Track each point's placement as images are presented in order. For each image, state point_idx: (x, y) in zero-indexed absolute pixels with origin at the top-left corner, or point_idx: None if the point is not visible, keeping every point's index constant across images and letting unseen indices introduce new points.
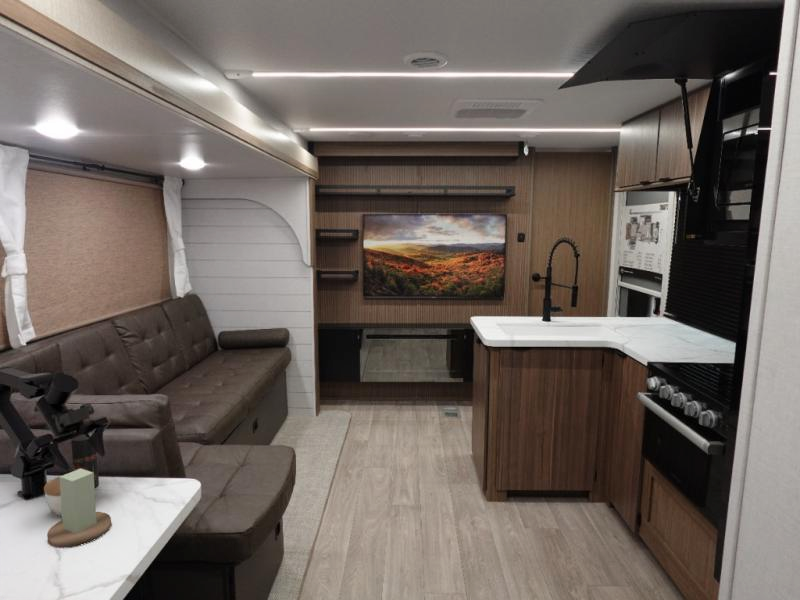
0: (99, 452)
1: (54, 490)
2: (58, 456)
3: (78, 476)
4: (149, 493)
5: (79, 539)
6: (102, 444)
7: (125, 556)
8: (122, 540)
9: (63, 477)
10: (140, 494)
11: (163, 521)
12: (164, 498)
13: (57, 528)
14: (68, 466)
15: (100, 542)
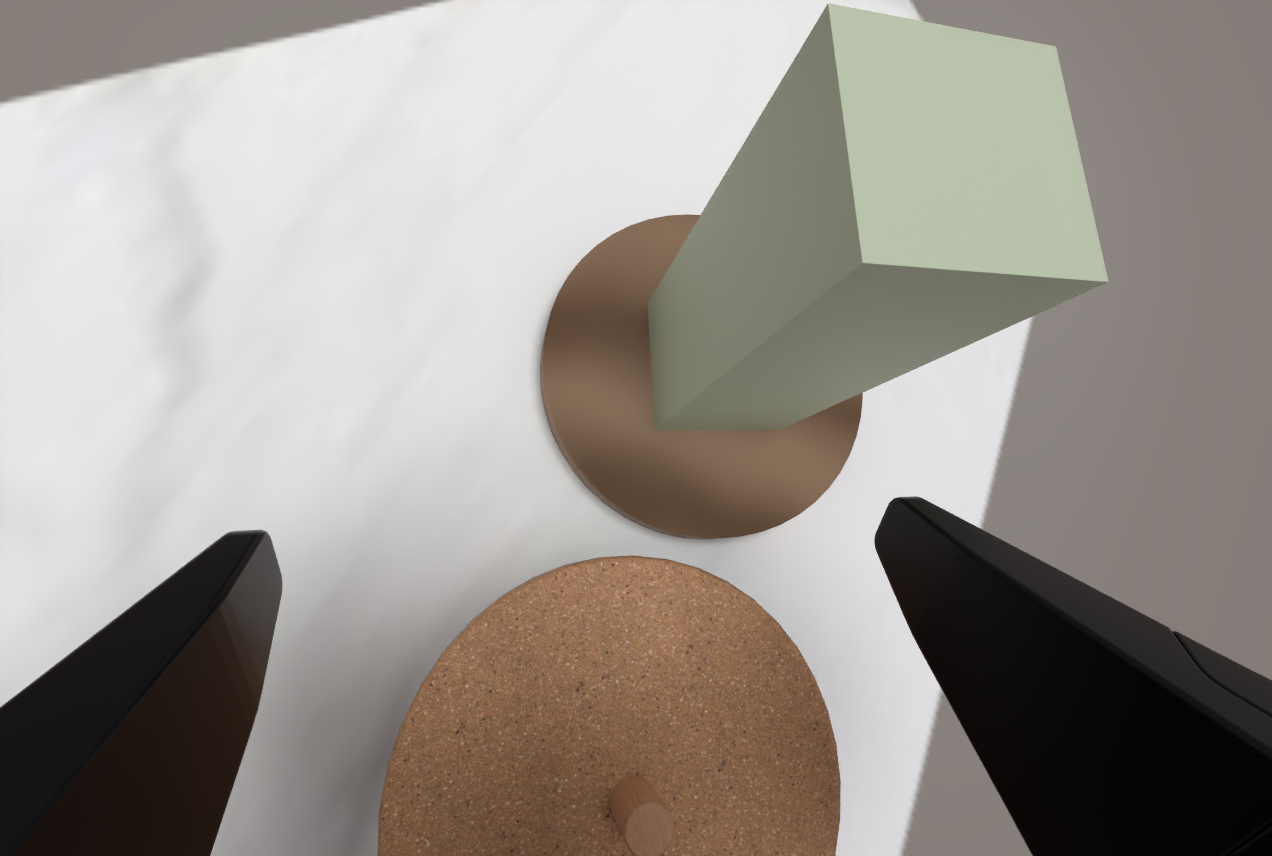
0: (250, 667)
1: (806, 703)
2: (1218, 658)
3: (975, 82)
4: (112, 414)
5: None
6: (23, 716)
7: (703, 8)
8: (634, 111)
9: (1086, 217)
10: (159, 466)
11: (397, 46)
12: (138, 243)
13: (794, 460)
14: (922, 512)
15: (699, 194)
